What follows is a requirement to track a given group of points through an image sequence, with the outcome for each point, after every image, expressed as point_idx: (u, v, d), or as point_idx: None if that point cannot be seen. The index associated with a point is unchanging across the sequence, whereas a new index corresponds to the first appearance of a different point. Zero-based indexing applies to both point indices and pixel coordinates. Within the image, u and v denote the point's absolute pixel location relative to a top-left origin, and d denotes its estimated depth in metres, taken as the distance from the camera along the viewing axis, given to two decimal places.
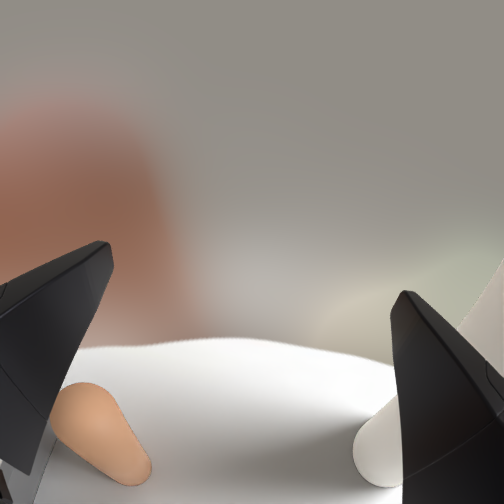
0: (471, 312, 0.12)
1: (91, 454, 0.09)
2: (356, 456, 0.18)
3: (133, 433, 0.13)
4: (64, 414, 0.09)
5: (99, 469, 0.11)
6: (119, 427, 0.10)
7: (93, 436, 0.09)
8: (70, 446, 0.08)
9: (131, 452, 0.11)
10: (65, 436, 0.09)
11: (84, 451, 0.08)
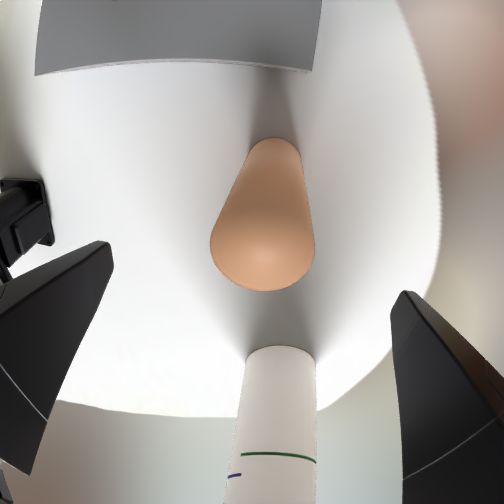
0: (304, 501, 0.15)
1: None
2: (281, 350, 0.27)
3: None
4: (254, 225, 0.09)
5: None
6: (259, 289, 0.11)
7: (236, 266, 0.10)
8: (211, 241, 0.10)
9: None
10: (222, 233, 0.09)
11: (213, 257, 0.10)
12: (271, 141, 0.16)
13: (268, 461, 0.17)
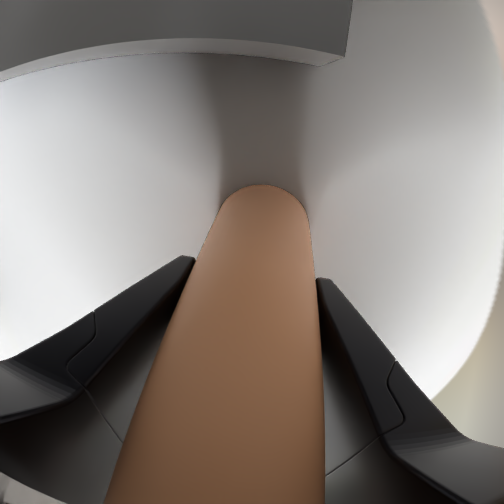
0: None
1: None
2: None
3: None
4: None
5: None
6: None
7: None
8: None
9: None
10: None
11: None
12: (255, 196, 0.09)
13: None
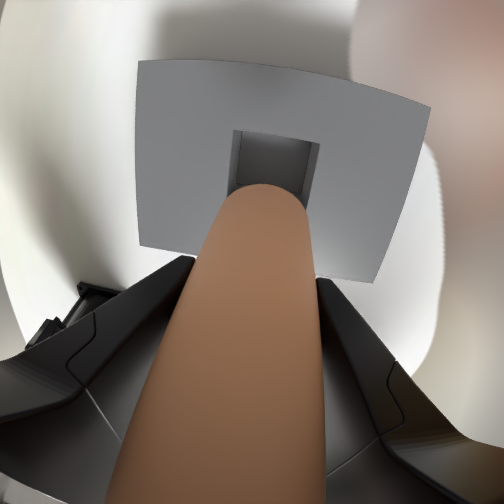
0: None
1: None
2: None
3: None
4: None
5: None
6: None
7: None
8: None
9: None
10: None
11: None
12: (255, 196, 0.09)
13: None
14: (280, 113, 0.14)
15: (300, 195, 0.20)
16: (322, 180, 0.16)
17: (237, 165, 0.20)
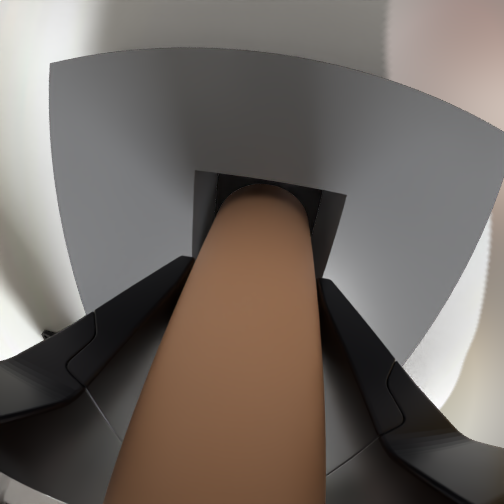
0: None
1: None
2: None
3: None
4: None
5: None
6: None
7: None
8: None
9: None
10: None
11: None
12: (255, 196, 0.09)
13: None
14: (277, 140, 0.08)
15: None
16: (345, 253, 0.10)
17: (214, 210, 0.13)
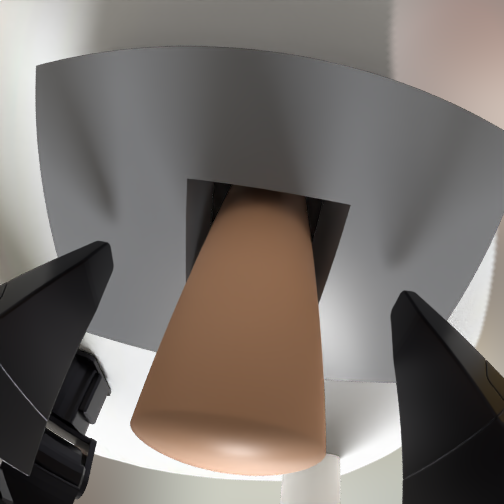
0: None
1: None
2: None
3: None
4: (205, 433, 0.04)
5: None
6: None
7: (186, 456, 0.05)
8: (135, 430, 0.04)
9: None
10: (148, 428, 0.04)
11: None
12: None
13: None
14: (275, 146, 0.07)
15: None
16: (348, 266, 0.09)
17: (210, 218, 0.13)
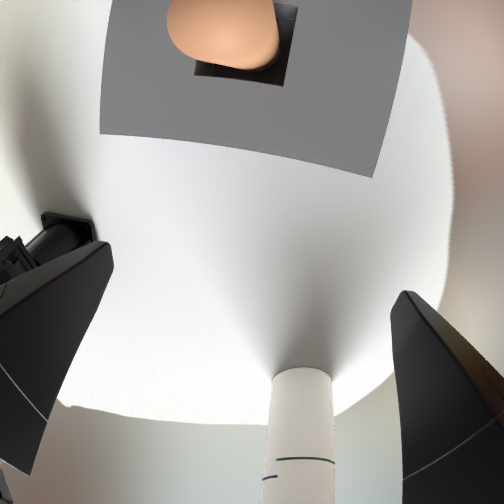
0: (328, 495, 0.19)
1: None
2: (305, 371, 0.30)
3: (258, 61, 0.11)
4: None
5: None
6: (215, 62, 0.08)
7: (191, 35, 0.07)
8: (168, 13, 0.07)
9: None
10: (180, 3, 0.07)
11: (169, 30, 0.07)
12: None
13: (300, 464, 0.21)
14: None
15: None
16: (302, 42, 0.12)
17: None
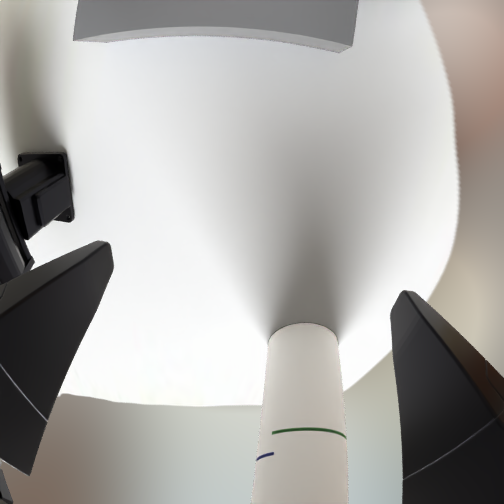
0: (339, 477, 0.15)
1: None
2: (306, 327, 0.27)
3: None
4: None
5: None
6: None
7: None
8: None
9: None
10: None
11: None
12: None
13: (302, 437, 0.18)
14: None
15: None
16: None
17: None
